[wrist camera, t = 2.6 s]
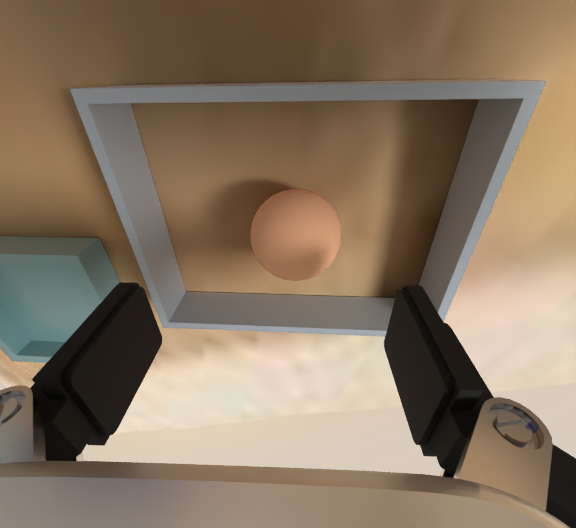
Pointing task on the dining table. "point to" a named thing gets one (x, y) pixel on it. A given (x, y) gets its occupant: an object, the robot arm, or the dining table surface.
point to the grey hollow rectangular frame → (474, 157)
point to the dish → (49, 291)
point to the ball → (295, 234)
